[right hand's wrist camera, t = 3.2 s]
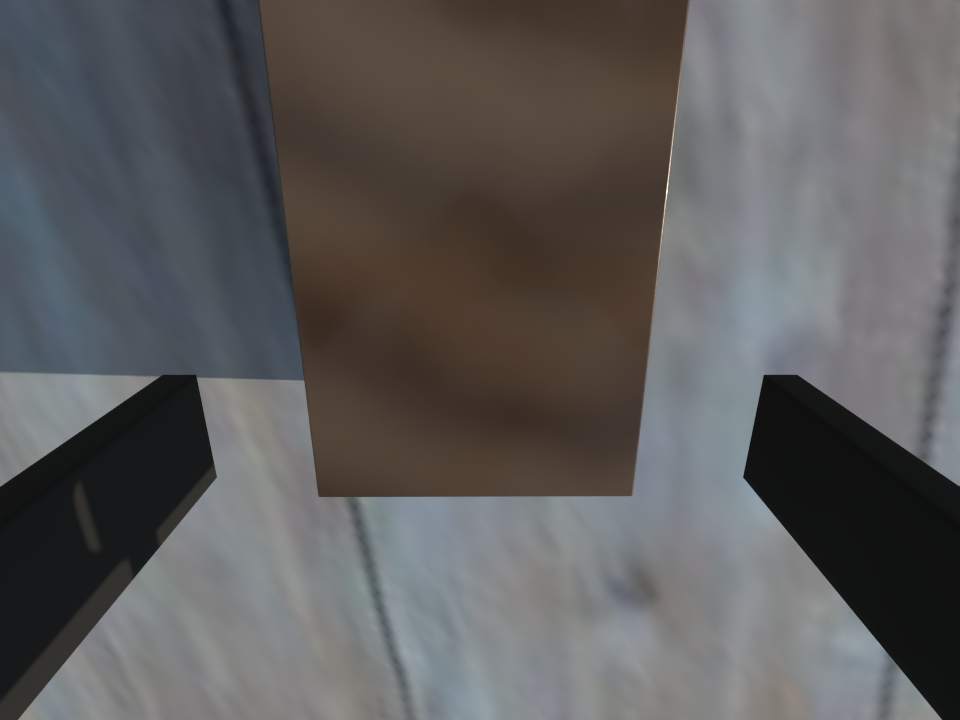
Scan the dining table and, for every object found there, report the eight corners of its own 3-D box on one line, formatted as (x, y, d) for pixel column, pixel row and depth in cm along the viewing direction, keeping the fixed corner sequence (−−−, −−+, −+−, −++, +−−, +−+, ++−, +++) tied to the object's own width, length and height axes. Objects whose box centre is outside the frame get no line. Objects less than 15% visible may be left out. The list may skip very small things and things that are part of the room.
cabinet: (334, -125, 21) (211, -374, 11) (614, -125, 21) (733, -372, 11) (372, 383, 29) (318, 497, 19) (579, 382, 29) (632, 496, 19)
